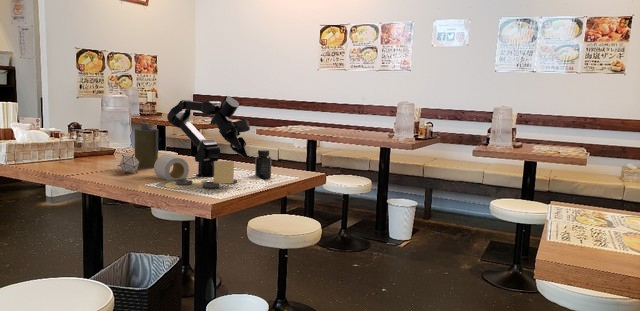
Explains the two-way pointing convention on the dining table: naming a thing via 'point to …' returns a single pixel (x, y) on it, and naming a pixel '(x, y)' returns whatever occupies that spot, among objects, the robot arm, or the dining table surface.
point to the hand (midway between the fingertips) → (243, 153)
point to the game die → (129, 163)
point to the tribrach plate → (189, 182)
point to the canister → (146, 145)
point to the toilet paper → (166, 162)
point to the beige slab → (221, 174)
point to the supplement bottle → (263, 165)
